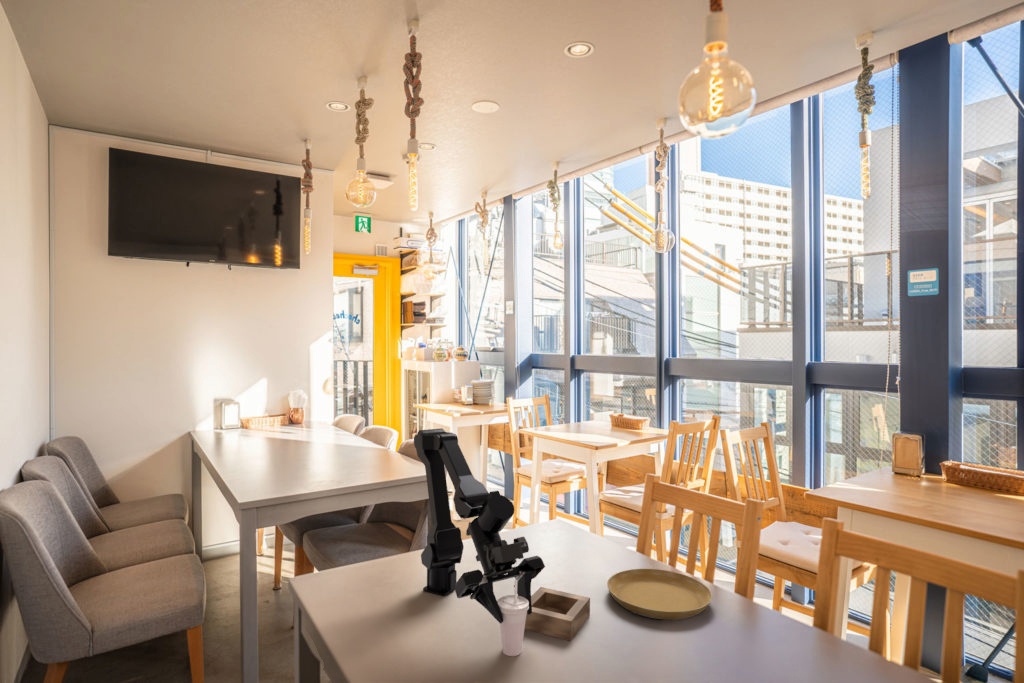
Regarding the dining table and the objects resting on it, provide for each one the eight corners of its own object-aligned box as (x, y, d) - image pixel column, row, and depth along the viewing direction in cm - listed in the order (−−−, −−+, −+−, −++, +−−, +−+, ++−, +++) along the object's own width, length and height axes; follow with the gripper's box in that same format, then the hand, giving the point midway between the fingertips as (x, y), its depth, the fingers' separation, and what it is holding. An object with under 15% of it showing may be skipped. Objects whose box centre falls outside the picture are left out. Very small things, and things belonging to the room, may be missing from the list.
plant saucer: (615, 574, 150) (615, 561, 150) (712, 588, 142) (712, 575, 142) (598, 615, 127) (598, 600, 127) (711, 635, 119) (712, 619, 119)
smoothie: (525, 662, 108) (526, 588, 108) (492, 657, 109) (493, 585, 109) (530, 644, 114) (532, 575, 114) (499, 640, 115) (501, 572, 115)
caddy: (518, 627, 121) (518, 608, 121) (540, 604, 132) (540, 586, 132) (571, 640, 116) (571, 621, 116) (589, 615, 126) (590, 597, 126)
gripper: (462, 532, 110) (490, 612, 100) (540, 517, 120) (572, 589, 110) (443, 559, 116) (468, 637, 107) (519, 543, 126) (548, 612, 117)
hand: (516, 618), depth 110 cm, fingers closed on smoothie, 6 cm apart
